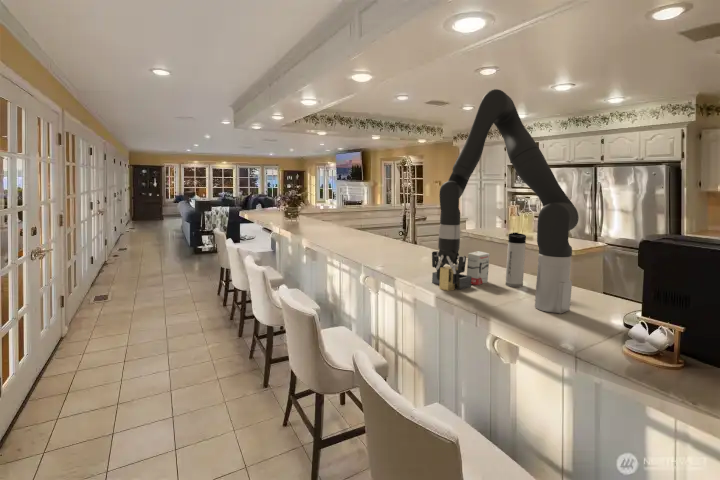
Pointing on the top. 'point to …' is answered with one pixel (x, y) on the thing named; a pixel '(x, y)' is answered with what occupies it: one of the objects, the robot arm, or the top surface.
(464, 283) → the grey hollow block
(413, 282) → the top surface
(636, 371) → the top surface
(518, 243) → the travel mug
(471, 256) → the ink box
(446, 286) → the tan wooden block
